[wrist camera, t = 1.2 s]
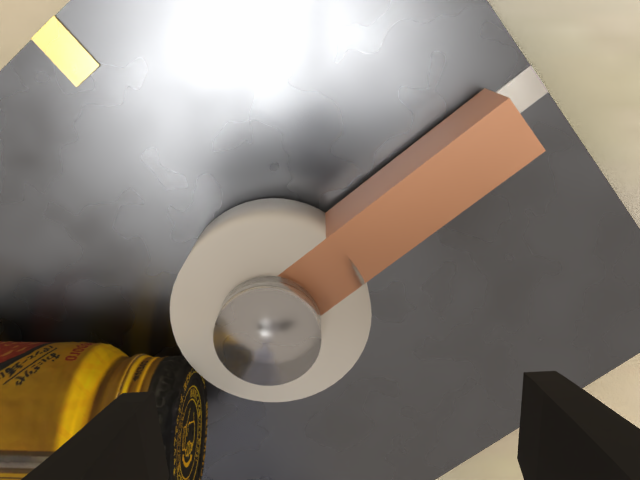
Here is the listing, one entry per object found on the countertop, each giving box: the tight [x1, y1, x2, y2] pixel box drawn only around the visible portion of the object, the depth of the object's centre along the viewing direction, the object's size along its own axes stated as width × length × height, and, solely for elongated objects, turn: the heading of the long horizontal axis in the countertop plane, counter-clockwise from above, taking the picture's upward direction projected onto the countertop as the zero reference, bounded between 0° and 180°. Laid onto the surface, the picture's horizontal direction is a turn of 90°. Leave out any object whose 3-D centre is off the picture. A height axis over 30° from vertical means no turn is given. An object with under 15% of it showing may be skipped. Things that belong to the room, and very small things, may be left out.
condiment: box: [0, 341, 208, 480], centre depth 19 cm, size 7×8×12 cm
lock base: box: [0, 0, 640, 480], centre depth 19 cm, size 21×21×6 cm
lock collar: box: [170, 88, 546, 402], centre depth 18 cm, size 12×6×2 cm, turn 129°
